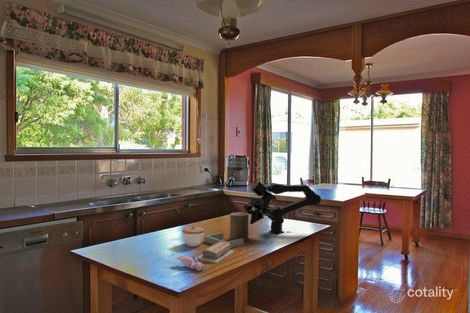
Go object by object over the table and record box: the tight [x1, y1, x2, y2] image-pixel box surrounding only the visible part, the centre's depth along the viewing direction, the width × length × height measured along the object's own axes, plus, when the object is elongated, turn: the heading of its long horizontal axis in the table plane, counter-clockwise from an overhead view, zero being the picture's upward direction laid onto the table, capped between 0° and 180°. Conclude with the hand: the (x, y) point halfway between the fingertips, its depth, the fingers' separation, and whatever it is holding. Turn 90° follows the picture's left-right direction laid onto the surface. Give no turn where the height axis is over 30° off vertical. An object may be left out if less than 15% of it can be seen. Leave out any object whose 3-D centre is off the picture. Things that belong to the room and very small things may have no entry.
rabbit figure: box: [176, 254, 208, 272], centre depth 138 cm, size 6×6×15 cm
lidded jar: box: [181, 225, 205, 247], centre depth 170 cm, size 11×11×9 cm
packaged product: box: [196, 241, 236, 264], centre depth 153 cm, size 18×5×10 cm
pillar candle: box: [229, 211, 250, 242], centre depth 180 cm, size 10×10×15 cm
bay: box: [203, 232, 245, 249], centre depth 173 cm, size 12×17×3 cm
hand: (250, 223), depth 186 cm, fingers closed
